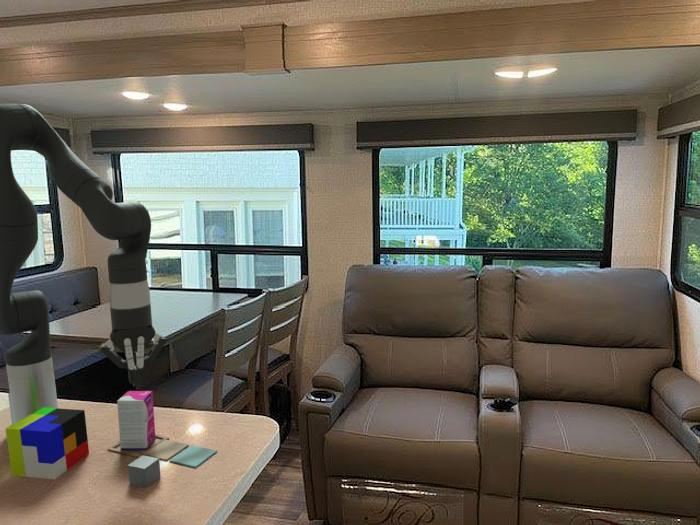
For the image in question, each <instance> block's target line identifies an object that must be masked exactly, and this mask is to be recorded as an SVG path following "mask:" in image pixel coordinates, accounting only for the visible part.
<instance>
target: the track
mask: <svg viewBox="0 0 700 525" xmlns="http://www.w3.org/2000/svg"><path fill="white" fill-rule="evenodd" d="M155 439H161V440H159V441H157V442H156V443H155V444H153V445H152V446H149V447H148V448H147V449H146V450H142V452H139V453H135V452H130V451H123V450H121V449H120V448H117V447H119V446H120V441H119V442H117V443H115V444H114V445H112V446H110V447H108V448H107V451H110V452H114V453H117V452H118V454H121V453H122V454H123V455H125V454H126V455H127V456H129V457H135V458H137V459H138V458H139V457H141V456H142V455H143V456H149V457H154V458H159V460H161V461H165V462H167V461H168V460H169V462H170V463H174V464H177V465H178V464H179V465H182V466H187V467H191V468H195V469H197V467H199V466H200V465H202V464H203V463H204V462H206V461H207V460H209V459H210V458H211V457H212V456H214V455H215V454H216V453H217V452H218V451H217V450H215V449H211V448H205V447H202V446H198V445H193V444H192V445H189V444H187V443H183V442H178V441H173V440H170V437H169V436H165V435H159V434H156V433H155Z"/></svg>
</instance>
